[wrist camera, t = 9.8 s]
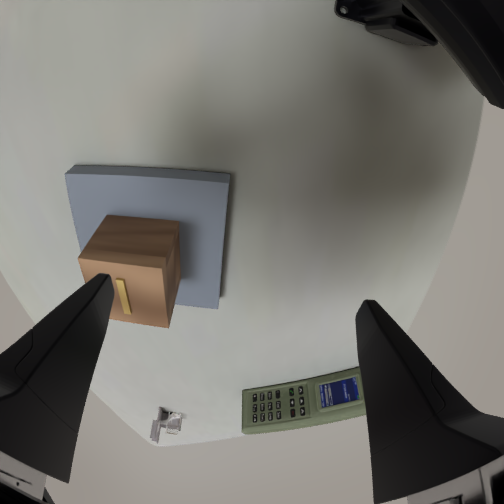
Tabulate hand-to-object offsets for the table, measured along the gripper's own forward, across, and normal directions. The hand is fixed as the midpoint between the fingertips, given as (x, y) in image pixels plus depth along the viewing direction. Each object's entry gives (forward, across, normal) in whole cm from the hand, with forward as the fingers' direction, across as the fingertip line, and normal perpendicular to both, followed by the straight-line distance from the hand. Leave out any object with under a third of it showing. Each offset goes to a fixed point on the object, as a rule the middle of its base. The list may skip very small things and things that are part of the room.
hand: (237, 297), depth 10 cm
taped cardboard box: (+10, +7, +7) cm, 14 cm away
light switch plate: (+12, +7, +7) cm, 16 cm away
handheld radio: (+12, -14, +28) cm, 33 cm away
